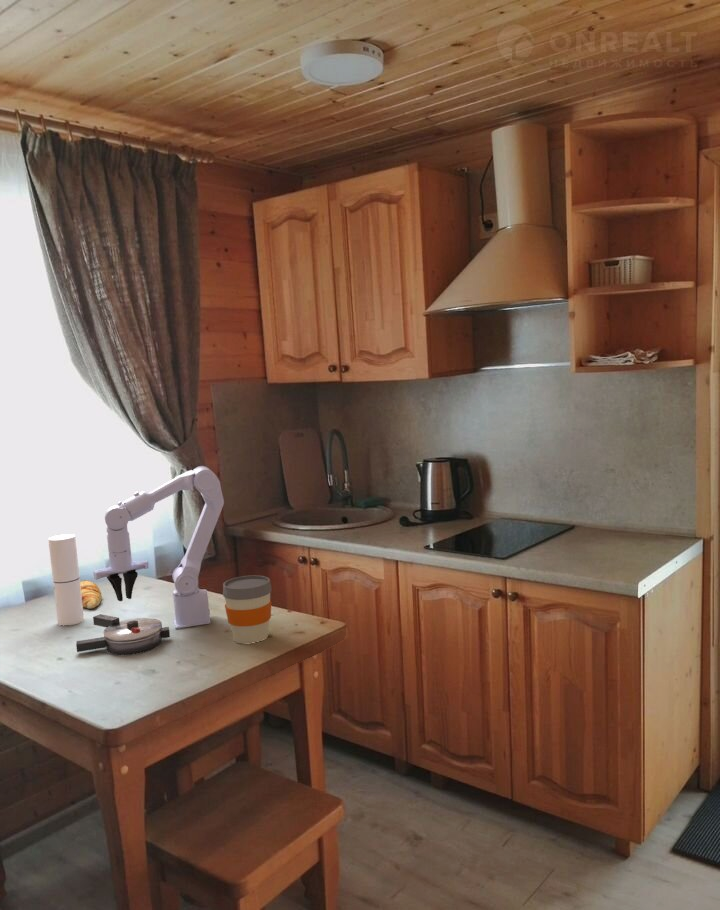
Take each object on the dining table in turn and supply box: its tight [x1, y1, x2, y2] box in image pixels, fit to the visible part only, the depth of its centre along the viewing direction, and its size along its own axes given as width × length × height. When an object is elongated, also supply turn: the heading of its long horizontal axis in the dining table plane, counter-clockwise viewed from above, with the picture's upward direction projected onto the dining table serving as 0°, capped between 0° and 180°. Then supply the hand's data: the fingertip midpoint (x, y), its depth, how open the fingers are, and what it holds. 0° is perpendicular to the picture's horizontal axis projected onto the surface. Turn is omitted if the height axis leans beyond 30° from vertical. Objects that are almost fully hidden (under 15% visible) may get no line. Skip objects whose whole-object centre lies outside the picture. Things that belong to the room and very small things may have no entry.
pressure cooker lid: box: [92, 614, 163, 642], centre depth 199 cm, size 21×15×2 cm
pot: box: [75, 626, 171, 656], centre depth 197 cm, size 23×14×4 cm, turn 108°
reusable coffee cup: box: [222, 574, 273, 644], centre depth 197 cm, size 13×12×15 cm
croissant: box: [80, 580, 103, 610], centre depth 238 cm, size 21×10×8 cm, turn 35°
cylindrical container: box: [48, 533, 85, 627], centre depth 218 cm, size 7×7×25 cm
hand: (124, 599), depth 206 cm, fingers closed
